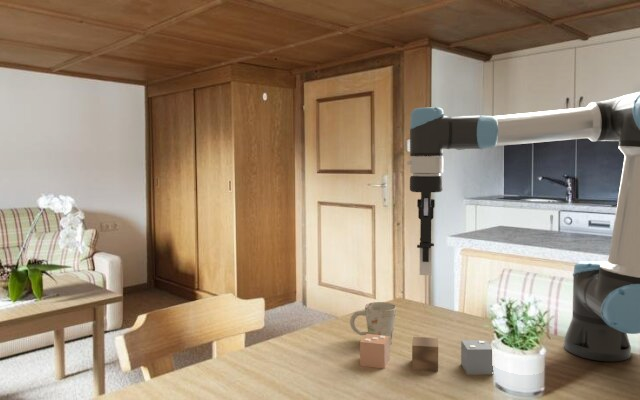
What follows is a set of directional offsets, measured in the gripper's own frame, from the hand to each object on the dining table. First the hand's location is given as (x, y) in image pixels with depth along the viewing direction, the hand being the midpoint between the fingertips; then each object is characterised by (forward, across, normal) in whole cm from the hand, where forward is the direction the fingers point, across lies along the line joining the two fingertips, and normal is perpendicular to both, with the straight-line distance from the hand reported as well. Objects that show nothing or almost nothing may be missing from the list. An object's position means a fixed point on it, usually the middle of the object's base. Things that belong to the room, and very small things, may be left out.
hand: (425, 274), depth 126 cm
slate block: (+22, 0, +12) cm, 25 cm away
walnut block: (+22, 0, 0) cm, 22 cm away
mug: (+23, -14, -14) cm, 30 cm away
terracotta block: (+23, 0, -12) cm, 25 cm away
